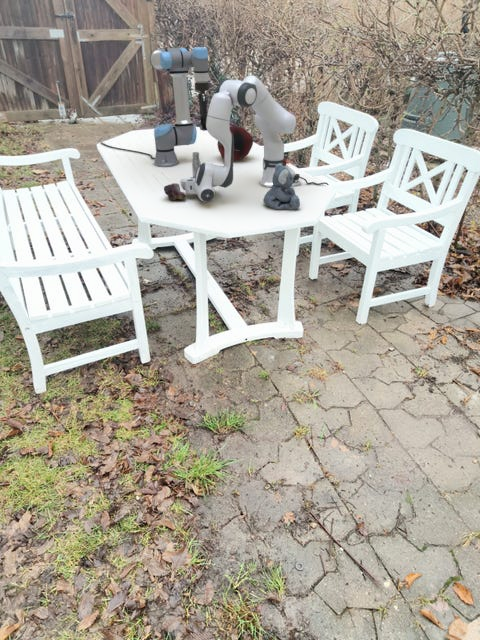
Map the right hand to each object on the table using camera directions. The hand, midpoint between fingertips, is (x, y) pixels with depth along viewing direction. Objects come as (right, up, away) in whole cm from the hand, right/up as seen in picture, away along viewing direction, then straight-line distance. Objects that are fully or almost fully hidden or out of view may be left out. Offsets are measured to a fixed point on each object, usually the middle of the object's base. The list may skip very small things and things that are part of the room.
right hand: (196, 178), depth 247 cm
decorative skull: (+20, +31, +56) cm, 67 cm away
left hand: (+4, +27, 0) cm, 27 cm away
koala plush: (+45, -19, -17) cm, 51 cm away
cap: (+4, +29, -1) cm, 29 cm away
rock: (-11, -14, -8) cm, 20 cm away
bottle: (0, -6, +3) cm, 7 cm away
